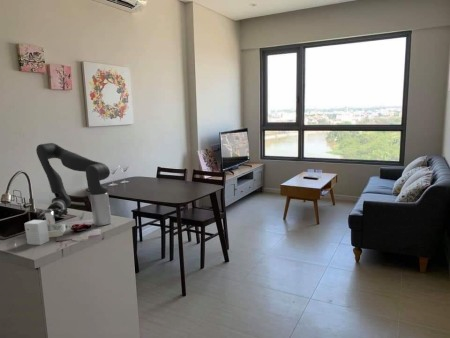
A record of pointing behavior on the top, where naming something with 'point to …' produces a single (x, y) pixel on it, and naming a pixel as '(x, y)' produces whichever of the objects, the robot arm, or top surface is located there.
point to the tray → (57, 231)
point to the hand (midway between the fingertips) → (50, 216)
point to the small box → (36, 232)
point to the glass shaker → (50, 219)
